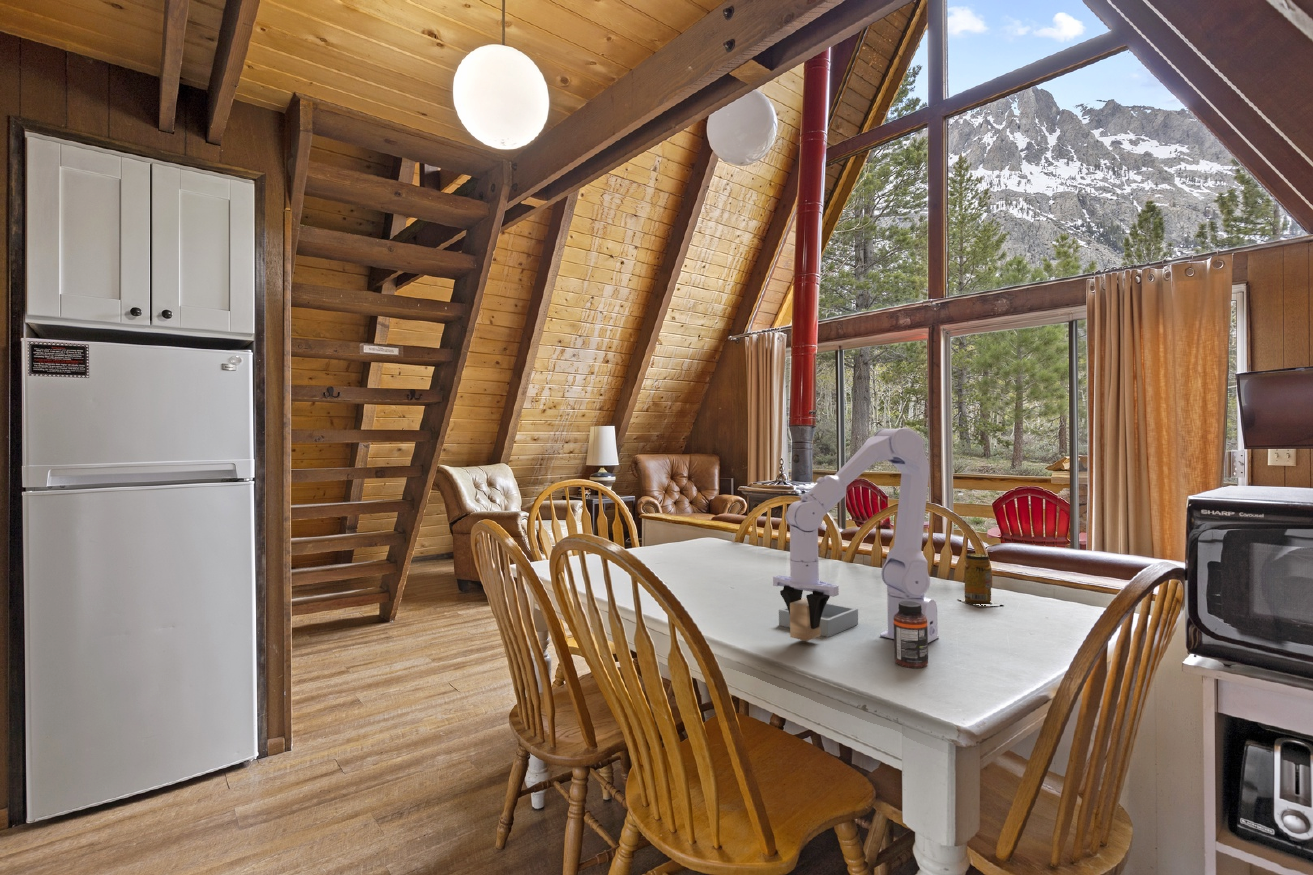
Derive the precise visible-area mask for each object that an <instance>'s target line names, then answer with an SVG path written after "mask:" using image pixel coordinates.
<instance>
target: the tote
mask: <svg viewBox="0 0 1313 875" xmlns="http://www.w3.org/2000/svg"><path fill="white" fill-rule="evenodd" d="M855 625H856V626H858V625H859V609H858V608H855V607H852V606H851V607H850V606H844V605H839V604H834V603H829V602H827V603H826V605H825V607H824V610H823V612H822V616H821V620H820V629H821V636H823V637H828V638H829V637H831V636H833V635H836V634H839V633H841V632H843V631H845V630H849V629H851V628H853V627H855ZM778 626H780V627H785V628H789V629H790V614H789V611H788V608H787V606H786V607H783V608H780V609H779V610H778Z"/></svg>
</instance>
